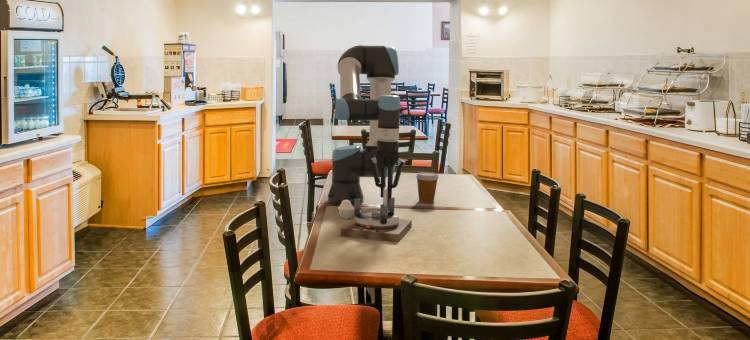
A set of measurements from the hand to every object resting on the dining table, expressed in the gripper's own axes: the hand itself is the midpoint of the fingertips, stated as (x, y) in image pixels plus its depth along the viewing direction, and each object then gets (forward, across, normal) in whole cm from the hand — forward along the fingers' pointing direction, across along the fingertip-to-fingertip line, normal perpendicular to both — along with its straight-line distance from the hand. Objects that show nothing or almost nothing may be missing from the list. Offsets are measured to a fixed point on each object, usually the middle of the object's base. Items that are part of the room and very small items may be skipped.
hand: (385, 206), depth 211 cm
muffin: (+8, -17, +8) cm, 21 cm away
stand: (+8, -1, -6) cm, 10 cm away
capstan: (+5, -1, -6) cm, 8 cm away
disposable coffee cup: (+8, +6, +47) cm, 48 cm away
